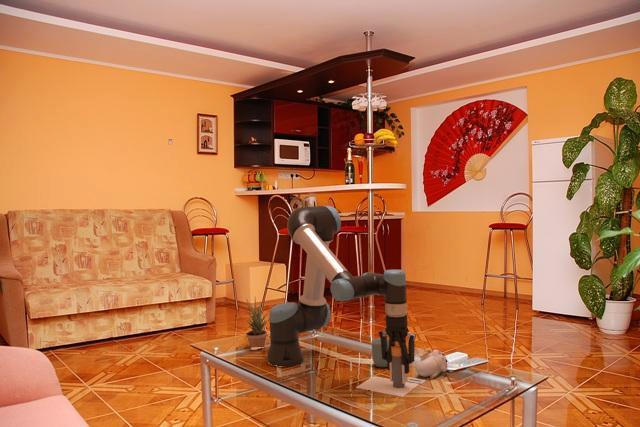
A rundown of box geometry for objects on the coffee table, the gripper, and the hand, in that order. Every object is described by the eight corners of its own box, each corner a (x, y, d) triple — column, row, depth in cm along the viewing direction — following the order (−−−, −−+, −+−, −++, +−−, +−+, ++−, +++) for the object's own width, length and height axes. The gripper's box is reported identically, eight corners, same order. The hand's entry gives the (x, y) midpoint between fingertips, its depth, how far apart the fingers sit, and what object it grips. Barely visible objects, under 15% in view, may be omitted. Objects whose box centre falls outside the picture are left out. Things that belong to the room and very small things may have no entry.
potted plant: (242, 350, 239) (239, 295, 238) (256, 344, 247) (253, 291, 246) (259, 353, 233) (256, 297, 232) (273, 347, 241) (270, 293, 240)
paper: (355, 388, 186) (355, 387, 186) (373, 376, 197) (373, 376, 197) (402, 397, 176) (402, 396, 176) (419, 384, 186) (419, 384, 186)
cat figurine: (418, 354, 191) (444, 341, 200) (405, 361, 197) (431, 348, 206) (431, 379, 188) (457, 365, 197) (418, 385, 194) (444, 371, 203)
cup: (391, 369, 204) (390, 343, 204) (371, 369, 206) (370, 343, 205) (393, 363, 212) (392, 338, 211) (373, 362, 213) (372, 337, 213)
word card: (403, 381, 191) (403, 380, 191) (408, 377, 194) (408, 376, 194) (421, 384, 187) (421, 383, 187) (426, 380, 190) (426, 379, 190)
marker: (390, 387, 185) (389, 347, 184) (395, 383, 188) (394, 344, 188) (402, 388, 182) (400, 348, 182) (406, 385, 186) (405, 345, 186)
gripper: (369, 314, 186) (372, 380, 187) (414, 319, 177) (417, 388, 178) (379, 310, 193) (382, 374, 193) (423, 314, 183) (426, 381, 184)
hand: (398, 381), depth 185 cm, fingers closed on marker, 4 cm apart
